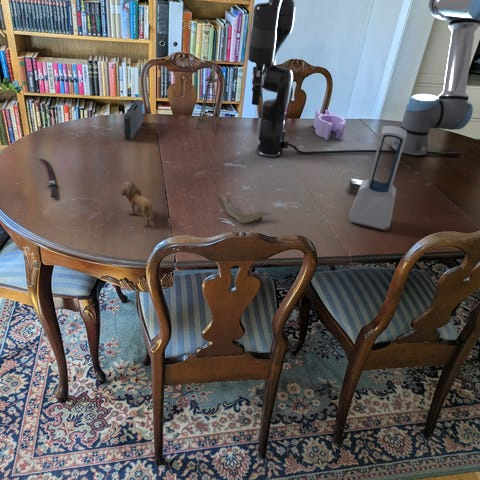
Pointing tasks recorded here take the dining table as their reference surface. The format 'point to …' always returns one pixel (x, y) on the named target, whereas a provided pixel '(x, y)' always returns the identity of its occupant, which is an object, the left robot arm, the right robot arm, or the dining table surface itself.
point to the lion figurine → (137, 201)
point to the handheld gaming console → (133, 119)
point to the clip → (329, 124)
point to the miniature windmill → (210, 80)
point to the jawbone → (239, 215)
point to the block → (354, 186)
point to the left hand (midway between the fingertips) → (256, 100)
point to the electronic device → (378, 189)
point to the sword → (52, 181)
